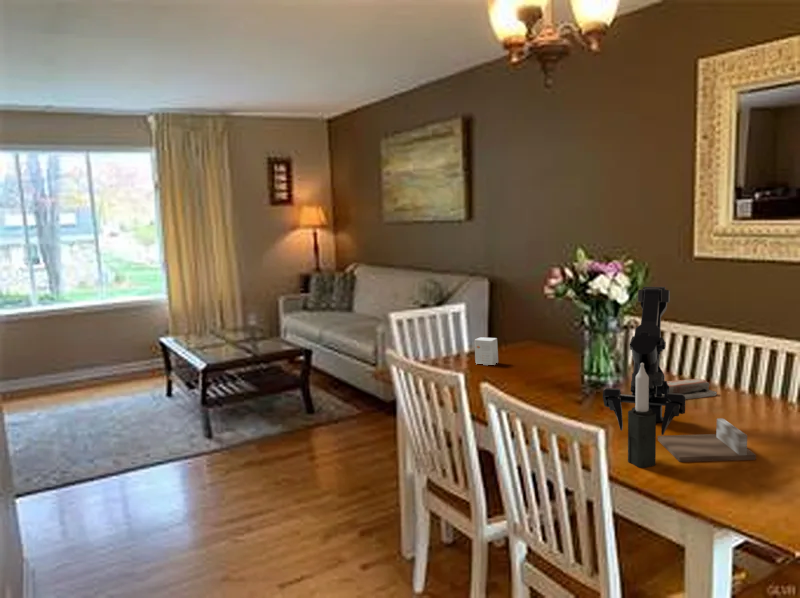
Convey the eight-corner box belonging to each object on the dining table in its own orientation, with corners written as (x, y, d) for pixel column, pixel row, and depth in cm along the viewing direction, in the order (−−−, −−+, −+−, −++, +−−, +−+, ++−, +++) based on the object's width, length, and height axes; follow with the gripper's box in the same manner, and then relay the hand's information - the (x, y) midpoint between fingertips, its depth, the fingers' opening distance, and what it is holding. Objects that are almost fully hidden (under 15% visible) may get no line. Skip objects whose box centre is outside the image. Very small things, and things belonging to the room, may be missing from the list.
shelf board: (657, 440, 159) (657, 417, 158) (727, 438, 158) (727, 415, 158) (679, 461, 146) (679, 437, 145) (755, 459, 145) (756, 435, 144)
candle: (625, 461, 148) (626, 361, 144) (642, 457, 149) (642, 359, 146) (640, 468, 143) (641, 366, 139) (657, 464, 145) (658, 363, 141)
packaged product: (667, 388, 189) (648, 380, 199) (667, 403, 190) (648, 394, 199) (717, 382, 192) (696, 374, 202) (717, 396, 193) (696, 388, 203)
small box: (498, 363, 248) (497, 338, 246) (493, 366, 243) (492, 340, 241) (480, 361, 252) (479, 336, 250) (474, 364, 247) (474, 339, 246)
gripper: (603, 356, 151) (597, 412, 142) (685, 361, 143) (684, 421, 134) (607, 378, 159) (602, 433, 150) (685, 384, 151) (684, 442, 142)
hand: (641, 432), depth 144 cm, fingers open, 9 cm apart
